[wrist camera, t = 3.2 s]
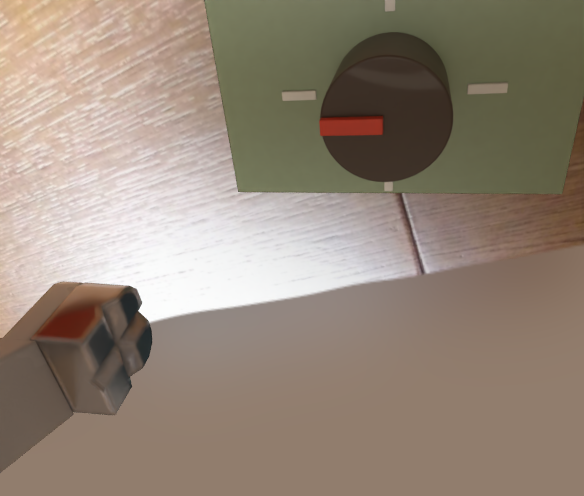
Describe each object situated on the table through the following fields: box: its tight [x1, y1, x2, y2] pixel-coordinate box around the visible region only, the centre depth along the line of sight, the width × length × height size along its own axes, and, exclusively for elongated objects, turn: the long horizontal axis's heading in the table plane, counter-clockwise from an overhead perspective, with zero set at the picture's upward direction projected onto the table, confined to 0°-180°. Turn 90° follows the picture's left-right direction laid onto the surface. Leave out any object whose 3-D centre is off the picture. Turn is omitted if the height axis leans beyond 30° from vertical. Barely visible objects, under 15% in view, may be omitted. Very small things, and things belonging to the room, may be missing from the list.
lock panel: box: [204, 0, 584, 194], centre depth 21 cm, size 14×9×3 cm, turn 96°
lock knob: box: [319, 32, 453, 182], centre depth 18 cm, size 4×4×4 cm
